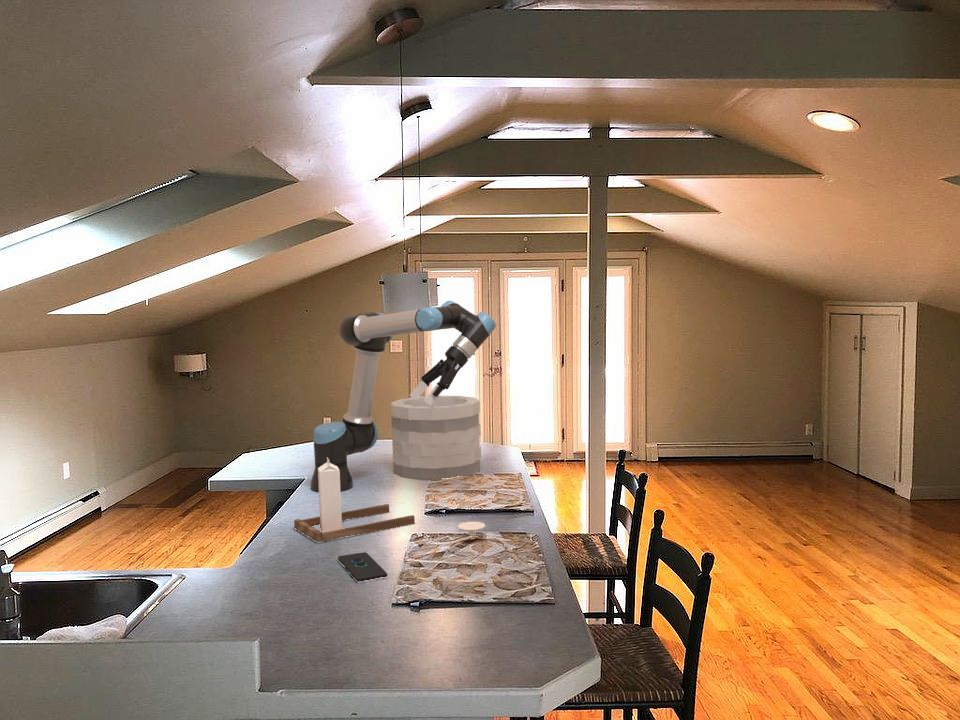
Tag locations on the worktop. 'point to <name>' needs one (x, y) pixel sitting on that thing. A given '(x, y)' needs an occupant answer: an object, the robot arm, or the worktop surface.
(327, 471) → the milk
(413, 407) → the storage basket
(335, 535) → the bay
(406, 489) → the worktop surface
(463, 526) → the hand towel holder
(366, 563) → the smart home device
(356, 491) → the worktop surface
